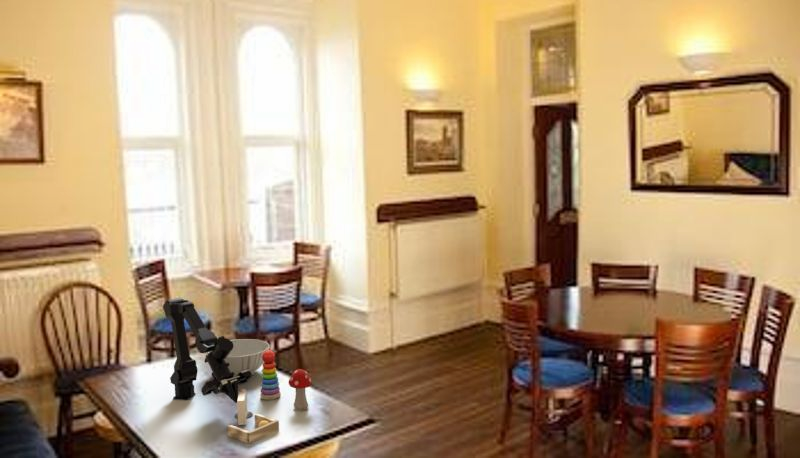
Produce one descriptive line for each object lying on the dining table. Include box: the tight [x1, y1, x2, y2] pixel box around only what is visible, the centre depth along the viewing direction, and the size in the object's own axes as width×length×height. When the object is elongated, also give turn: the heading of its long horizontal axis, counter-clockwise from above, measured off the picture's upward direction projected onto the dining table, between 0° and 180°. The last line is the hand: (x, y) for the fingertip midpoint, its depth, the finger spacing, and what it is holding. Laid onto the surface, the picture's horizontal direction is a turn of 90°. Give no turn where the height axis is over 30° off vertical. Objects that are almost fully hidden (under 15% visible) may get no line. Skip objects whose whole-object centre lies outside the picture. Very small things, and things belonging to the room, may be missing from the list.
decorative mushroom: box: [288, 368, 313, 412], centre depth 256 cm, size 10×9×15 cm
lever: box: [236, 388, 248, 426], centre depth 245 cm, size 2×11×9 cm, turn 9°
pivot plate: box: [234, 410, 253, 419], centre depth 250 cm, size 6×6×1 cm
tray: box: [227, 413, 280, 444], centre depth 235 cm, size 11×13×4 cm
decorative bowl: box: [206, 338, 271, 377], centre depth 296 cm, size 27×27×12 cm
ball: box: [257, 420, 269, 428], centre depth 235 cm, size 4×4×4 cm
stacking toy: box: [259, 349, 281, 401], centre depth 268 cm, size 8×8×19 cm
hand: (237, 402), depth 245 cm, fingers closed
